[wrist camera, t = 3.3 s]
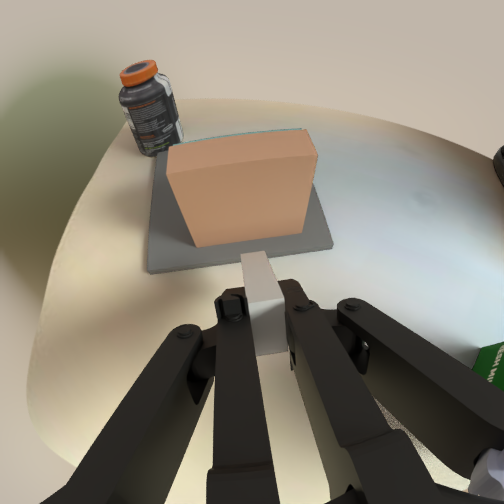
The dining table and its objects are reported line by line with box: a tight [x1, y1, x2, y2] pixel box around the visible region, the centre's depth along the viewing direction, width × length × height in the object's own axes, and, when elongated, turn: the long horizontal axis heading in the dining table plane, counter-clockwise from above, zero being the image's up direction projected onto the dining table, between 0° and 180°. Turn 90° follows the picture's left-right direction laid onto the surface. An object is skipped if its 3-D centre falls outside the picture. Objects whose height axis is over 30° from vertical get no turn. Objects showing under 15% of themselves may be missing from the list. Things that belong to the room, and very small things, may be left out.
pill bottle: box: [119, 60, 183, 156], centre depth 26 cm, size 6×6×11 cm
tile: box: [166, 128, 318, 248], centre depth 20 cm, size 9×3×9 cm, turn 98°
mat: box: [147, 150, 334, 274], centre depth 26 cm, size 16×15×1 cm
